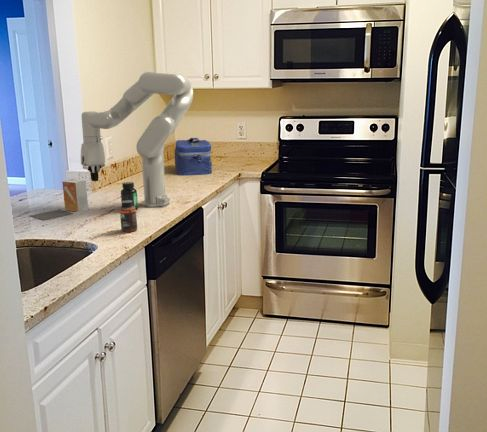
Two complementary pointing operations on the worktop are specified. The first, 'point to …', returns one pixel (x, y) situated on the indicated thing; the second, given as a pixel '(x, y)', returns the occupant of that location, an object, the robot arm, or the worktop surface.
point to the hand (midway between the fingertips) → (94, 180)
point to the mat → (51, 214)
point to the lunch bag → (193, 157)
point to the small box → (75, 195)
